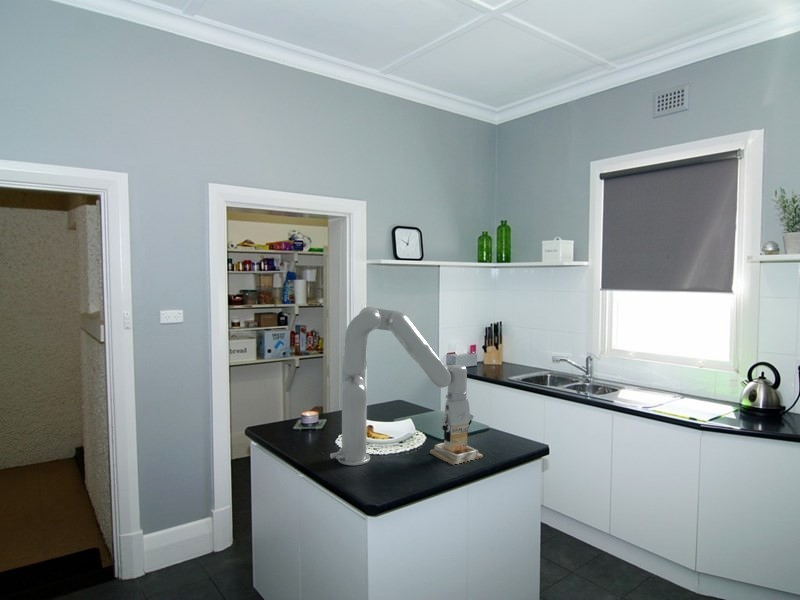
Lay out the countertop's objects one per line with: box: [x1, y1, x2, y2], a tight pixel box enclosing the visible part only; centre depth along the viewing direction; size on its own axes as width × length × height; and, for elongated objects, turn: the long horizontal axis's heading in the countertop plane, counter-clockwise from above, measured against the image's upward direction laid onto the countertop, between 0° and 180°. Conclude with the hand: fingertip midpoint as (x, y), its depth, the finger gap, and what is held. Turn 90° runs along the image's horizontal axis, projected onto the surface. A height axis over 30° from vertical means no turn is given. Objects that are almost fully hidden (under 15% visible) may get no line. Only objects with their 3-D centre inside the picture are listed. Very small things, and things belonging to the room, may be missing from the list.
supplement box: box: [443, 419, 469, 452], centre depth 201 cm, size 8×5×13 cm, turn 118°
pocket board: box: [429, 442, 484, 466], centre depth 201 cm, size 15×15×3 cm
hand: (456, 438), depth 201 cm, fingers closed on supplement box, 8 cm apart
